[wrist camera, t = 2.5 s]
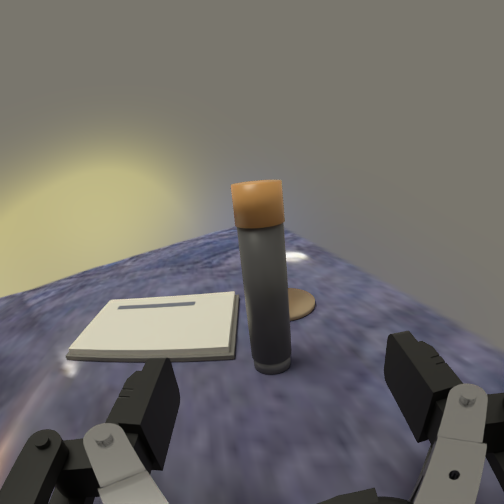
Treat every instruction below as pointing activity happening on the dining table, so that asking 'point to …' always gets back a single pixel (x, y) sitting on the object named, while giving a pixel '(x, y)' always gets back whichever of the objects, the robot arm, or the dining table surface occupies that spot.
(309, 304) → the coaster
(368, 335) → the dining table surface
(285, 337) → the marker
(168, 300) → the notepad
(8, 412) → the dining table surface
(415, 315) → the dining table surface
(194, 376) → the dining table surface
